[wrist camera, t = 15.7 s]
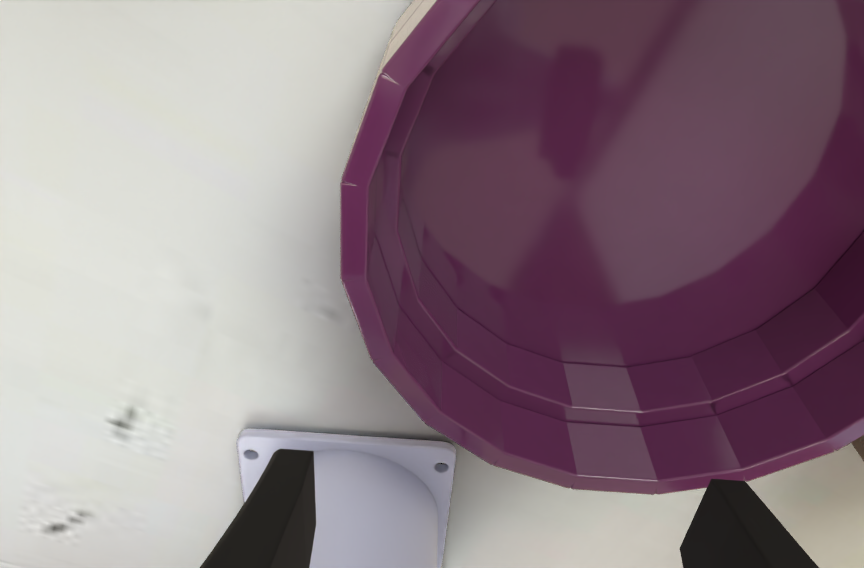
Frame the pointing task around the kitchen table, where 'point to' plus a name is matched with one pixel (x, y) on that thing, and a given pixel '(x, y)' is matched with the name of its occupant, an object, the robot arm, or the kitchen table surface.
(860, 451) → the eraser
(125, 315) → the kitchen table surface
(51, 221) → the kitchen table surface
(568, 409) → the bowl
